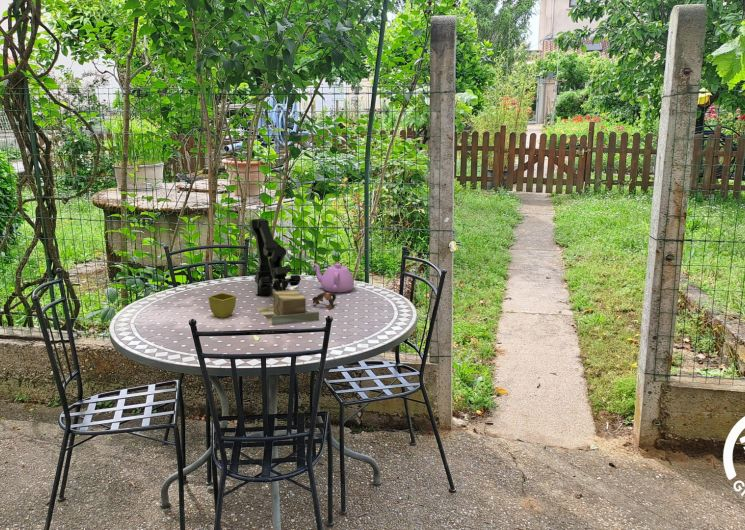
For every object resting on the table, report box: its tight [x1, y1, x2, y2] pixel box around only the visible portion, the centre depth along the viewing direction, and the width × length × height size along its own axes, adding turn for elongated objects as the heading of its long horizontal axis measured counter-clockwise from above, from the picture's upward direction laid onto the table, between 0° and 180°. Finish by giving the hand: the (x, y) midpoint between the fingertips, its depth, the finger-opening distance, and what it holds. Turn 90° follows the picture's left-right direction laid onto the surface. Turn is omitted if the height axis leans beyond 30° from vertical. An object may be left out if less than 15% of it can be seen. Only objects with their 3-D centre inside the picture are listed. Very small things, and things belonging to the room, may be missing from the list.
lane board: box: [255, 305, 320, 326], centre depth 293 cm, size 26×21×4 cm
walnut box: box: [273, 289, 307, 316], centre depth 289 cm, size 14×10×10 cm
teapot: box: [312, 262, 355, 293], centre depth 337 cm, size 22×22×14 cm
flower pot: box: [208, 292, 237, 319], centre depth 287 cm, size 9×9×9 cm
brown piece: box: [311, 291, 337, 311], centre depth 308 cm, size 12×10×8 cm
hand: (283, 297), depth 295 cm, fingers closed
